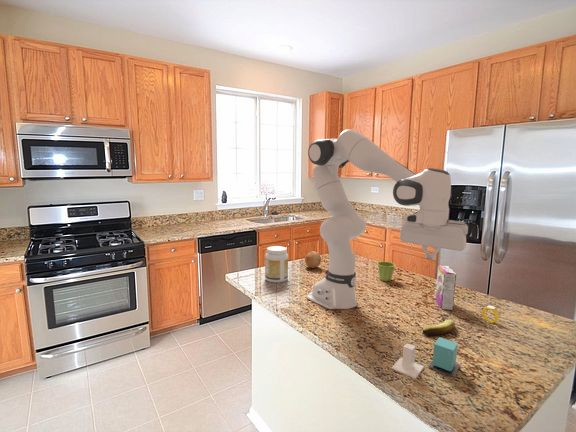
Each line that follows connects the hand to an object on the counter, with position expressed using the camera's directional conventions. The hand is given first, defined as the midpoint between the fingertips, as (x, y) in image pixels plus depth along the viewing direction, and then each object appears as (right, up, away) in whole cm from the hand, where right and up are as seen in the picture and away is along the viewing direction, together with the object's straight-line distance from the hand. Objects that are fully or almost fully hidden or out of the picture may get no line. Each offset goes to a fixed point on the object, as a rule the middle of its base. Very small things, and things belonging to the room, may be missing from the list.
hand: (429, 259), depth 108 cm
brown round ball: (-33, -17, +84) cm, 92 cm away
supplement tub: (-54, -19, +63) cm, 85 cm away
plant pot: (+5, -20, +66) cm, 69 cm away
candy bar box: (+21, -25, +34) cm, 47 cm away
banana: (+9, -29, +12) cm, 32 cm away
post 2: (-1, -31, -11) cm, 33 cm away
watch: (+32, -27, +20) cm, 47 cm away
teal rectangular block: (-1, -30, -11) cm, 32 cm away
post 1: (-12, -31, -12) cm, 35 cm away
